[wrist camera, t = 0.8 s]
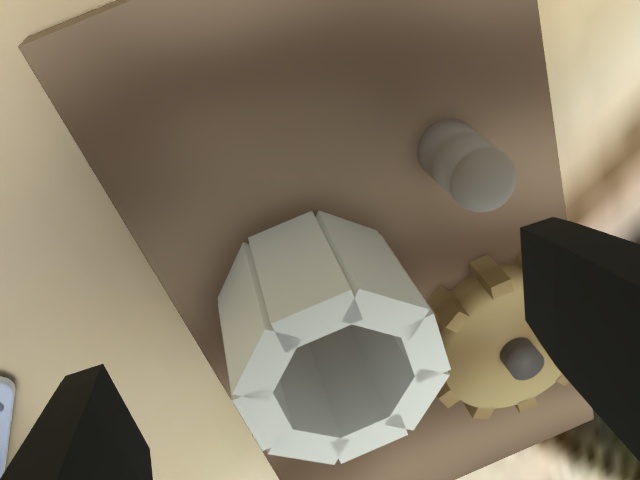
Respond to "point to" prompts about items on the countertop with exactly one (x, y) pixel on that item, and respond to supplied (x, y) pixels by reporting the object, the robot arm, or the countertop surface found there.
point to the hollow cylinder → (327, 340)
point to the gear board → (337, 176)
